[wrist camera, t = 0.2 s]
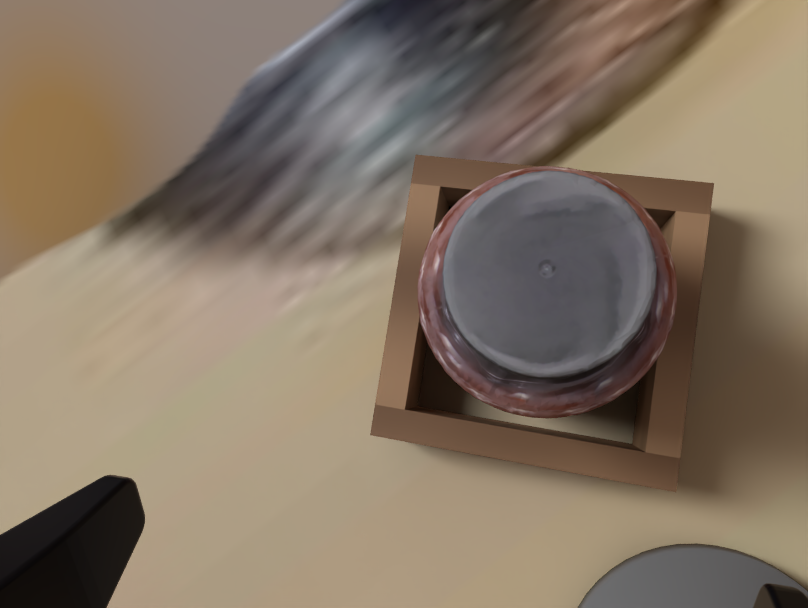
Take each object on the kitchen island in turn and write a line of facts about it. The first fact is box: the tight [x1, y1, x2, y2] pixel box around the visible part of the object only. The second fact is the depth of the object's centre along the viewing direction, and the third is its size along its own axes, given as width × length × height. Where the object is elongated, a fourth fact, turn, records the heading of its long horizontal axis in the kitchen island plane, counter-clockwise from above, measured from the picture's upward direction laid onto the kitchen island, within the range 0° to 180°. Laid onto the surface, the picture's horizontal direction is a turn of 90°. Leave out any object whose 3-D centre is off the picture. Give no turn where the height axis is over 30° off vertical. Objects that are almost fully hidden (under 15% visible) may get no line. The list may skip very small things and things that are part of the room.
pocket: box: [370, 155, 714, 492], centre depth 22 cm, size 10×10×2 cm
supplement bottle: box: [417, 166, 677, 418], centre depth 18 cm, size 6×6×11 cm
